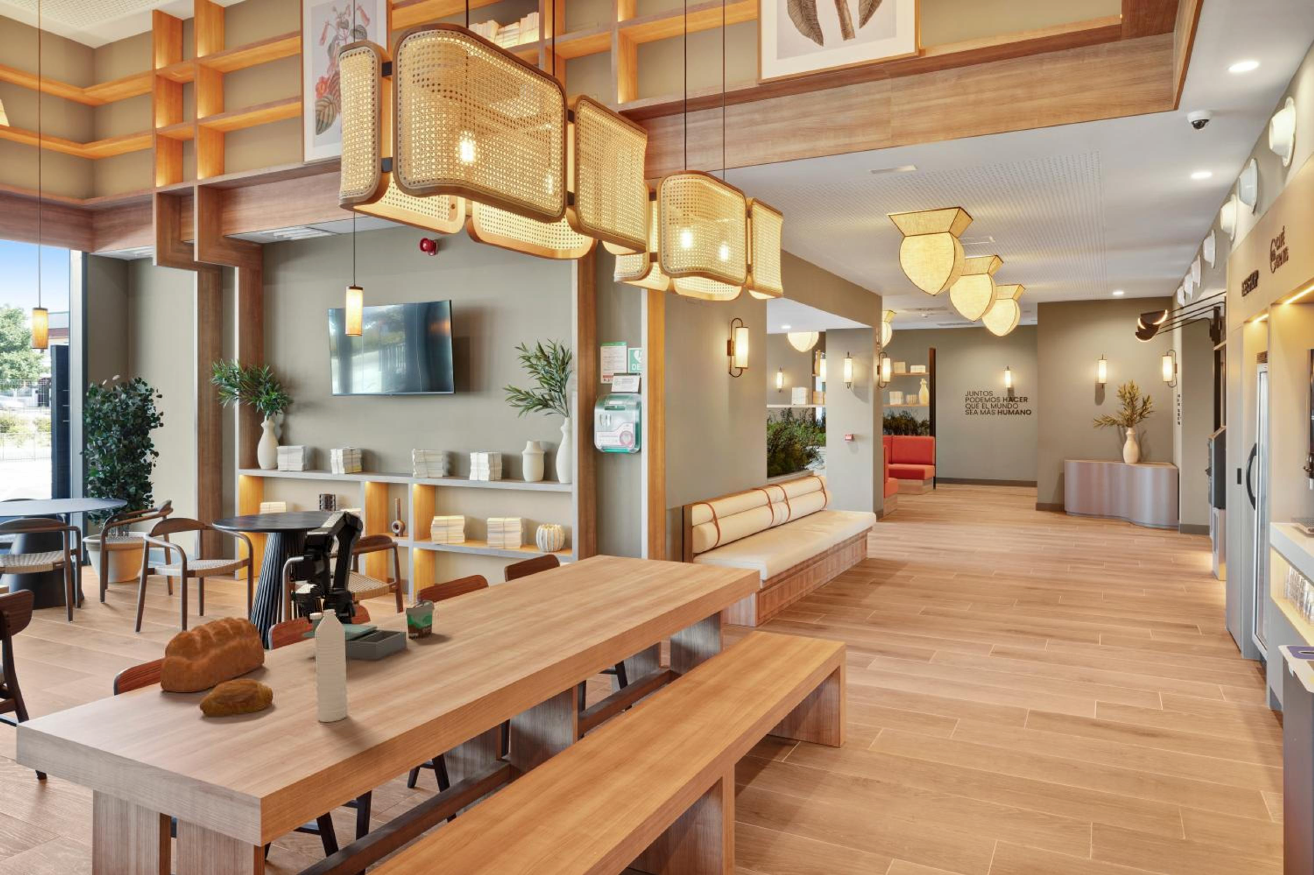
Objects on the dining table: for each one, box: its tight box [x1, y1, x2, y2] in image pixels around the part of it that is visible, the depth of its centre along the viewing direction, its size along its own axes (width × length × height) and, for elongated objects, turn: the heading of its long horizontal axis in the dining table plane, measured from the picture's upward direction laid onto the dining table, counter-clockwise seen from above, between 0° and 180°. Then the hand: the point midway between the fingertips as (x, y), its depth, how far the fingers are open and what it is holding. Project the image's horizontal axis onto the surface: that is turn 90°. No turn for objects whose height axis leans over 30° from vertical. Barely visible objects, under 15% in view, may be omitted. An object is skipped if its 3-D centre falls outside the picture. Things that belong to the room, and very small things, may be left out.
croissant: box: [199, 677, 274, 718], centre depth 203 cm, size 14×16×8 cm
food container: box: [405, 599, 436, 640], centre depth 269 cm, size 12×6×10 cm, turn 168°
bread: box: [160, 616, 266, 693], centre depth 228 cm, size 14×26×16 cm, turn 165°
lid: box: [301, 614, 378, 640], centre depth 253 cm, size 16×14×5 cm
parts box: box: [345, 629, 408, 662], centre depth 249 cm, size 16×14×5 cm
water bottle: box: [310, 609, 348, 723], centre depth 193 cm, size 9×6×25 cm
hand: (322, 624), depth 255 cm, fingers open, 8 cm apart
